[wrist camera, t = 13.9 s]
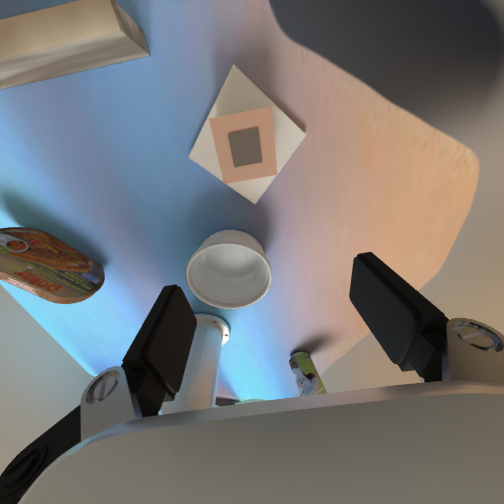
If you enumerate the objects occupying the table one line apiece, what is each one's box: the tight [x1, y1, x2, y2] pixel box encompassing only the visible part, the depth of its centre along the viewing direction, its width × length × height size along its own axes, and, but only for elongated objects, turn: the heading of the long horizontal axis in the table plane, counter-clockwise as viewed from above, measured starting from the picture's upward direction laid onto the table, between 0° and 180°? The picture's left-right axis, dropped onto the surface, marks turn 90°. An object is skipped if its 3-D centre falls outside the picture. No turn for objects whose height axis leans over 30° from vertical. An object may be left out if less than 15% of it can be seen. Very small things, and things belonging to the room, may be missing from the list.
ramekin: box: [186, 230, 272, 309], centre depth 31 cm, size 13×13×7 cm
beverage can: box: [289, 352, 327, 397], centre depth 47 cm, size 6×7×12 cm
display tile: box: [189, 64, 306, 204], centre depth 24 cm, size 11×11×1 cm
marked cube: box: [209, 106, 277, 184], centre depth 21 cm, size 6×6×6 cm
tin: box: [0, 227, 105, 304], centre depth 29 cm, size 15×3×8 cm, turn 42°
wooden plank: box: [0, 0, 150, 90], centre depth 18 cm, size 2×22×6 cm, turn 99°
